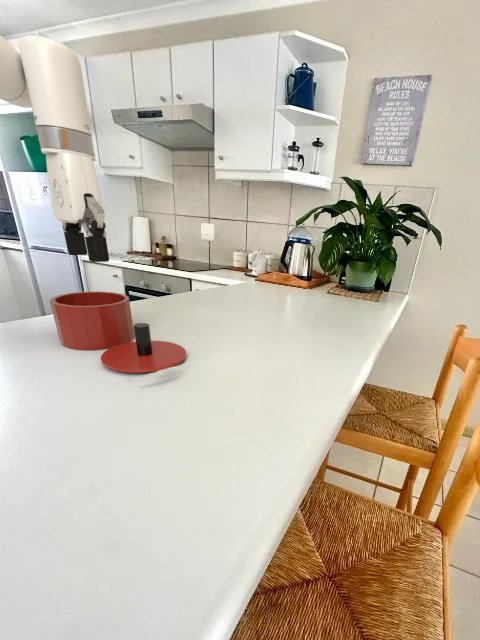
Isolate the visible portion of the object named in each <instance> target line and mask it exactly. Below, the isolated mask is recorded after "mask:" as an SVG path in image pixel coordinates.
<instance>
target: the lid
mask: <svg viewBox="0 0 480 640" xmlns="http://www.w3.org/2000/svg"><path fill="white" fill-rule="evenodd" d="M133 330H134V340H135V341H131V342H129V343H125V344H121V345H117V346H114V347H112V348H109V349H105V351H104V352H102V354H101V356H100V362H101V364H102V365H103V366H104V367H105V368H107V369H109V370H113V371H114V372H115V371H116V372H121V373H132V374H133V373H134V374H139V373H141V374H142V373H152V372H159V371H163V370H166V369H170V368H173V367H176V366H177V365H179V364H181V363H182V362H184V360H185V359H186V356H187V352H186V349H185V348H184V347H183V346H182V345H180V344H177V343H174V342H171V341H164V340H152V336H151V327H150V324H149V323H145V322H139V323H138V322H137V323H133Z"/></svg>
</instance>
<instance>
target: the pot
mask: <svg viewBox="0 0 480 640" xmlns="http://www.w3.org/2000/svg"><path fill="white" fill-rule="evenodd" d="M49 304H50V308H51V312H52V315H53V319H54V323H55V328H56V331H57V335H58V339H59V342H60V343H61V345H62V346H63V347H65V348H67V349H71V350H77V351H100V350H101V351H102V350H108V349H110V348H112V347H114V346H117V345H121V344H125V343H129V342H133V341H134V340H135V333H134V323H133V317H132V309H131V302H130V296H128V295H126V294H124V293H119V292H112V291H77V292H69V293H63V294H58V295H56V296H53V297H51V299H50V300H49Z"/></svg>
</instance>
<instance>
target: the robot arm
mask: <svg viewBox="0 0 480 640" xmlns="http://www.w3.org/2000/svg"><path fill="white" fill-rule="evenodd" d="M18 44H19V45H17V44H15V43H14V42H12V41H10V40H8V39H6V38H5V37H3V36H2V35H0V100H2V101H4V102H6V103H8V104H11V105H14V106H16V107H19V108H27V109H28V108H29V109H30V108H31V110H32V114H33V119H34V123H35V127H36V132H37V138H38V141H39V147H40V151H41V153H42V154H43V155H45V161H46V172H47V179H48V186H49V191H50V197H51V203H52V209H53V214H54V217H55V218H56V220H58V221H59V222H62V225H61V226H62V230H63V235H64V240H65V244H66V250H67V254H69V255H70V256H86V255H87V256H88V257H87V258H88V261H89V262H92V263H108V262H109V261H110V255H109V248H108V242H107V231H106V227H107V226H106V223H105V214H106V213H105V210H104V208H103V202H102V197H101V193H100V187H99V181H98V177H97V174H96V170H95V166H94V165H95V164H94V162H96V161H97V159H96V153H95V147H94V141H93V134H92V128H91V127H92V126H91V120H90V115H89V109H88V108H89V107H88V102H87V95H86V89H85V83H84V76H83V71H82V65H81V62H80V59H79V57H78V56H77V54H76V52H75V51H73V50H72V49H71V48H70V47H69V46H67V45H66V44H64V43H63V42H60V41H58V40H55V39H53V38H49V37H46V36H42V35H38V34H37V35H34V34H27V35H24V36H22V37H21V38H20V40H19V43H18ZM82 228H83V230H84V232H85V233H86V236H85V233H84V232H83V231H82Z"/></svg>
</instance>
